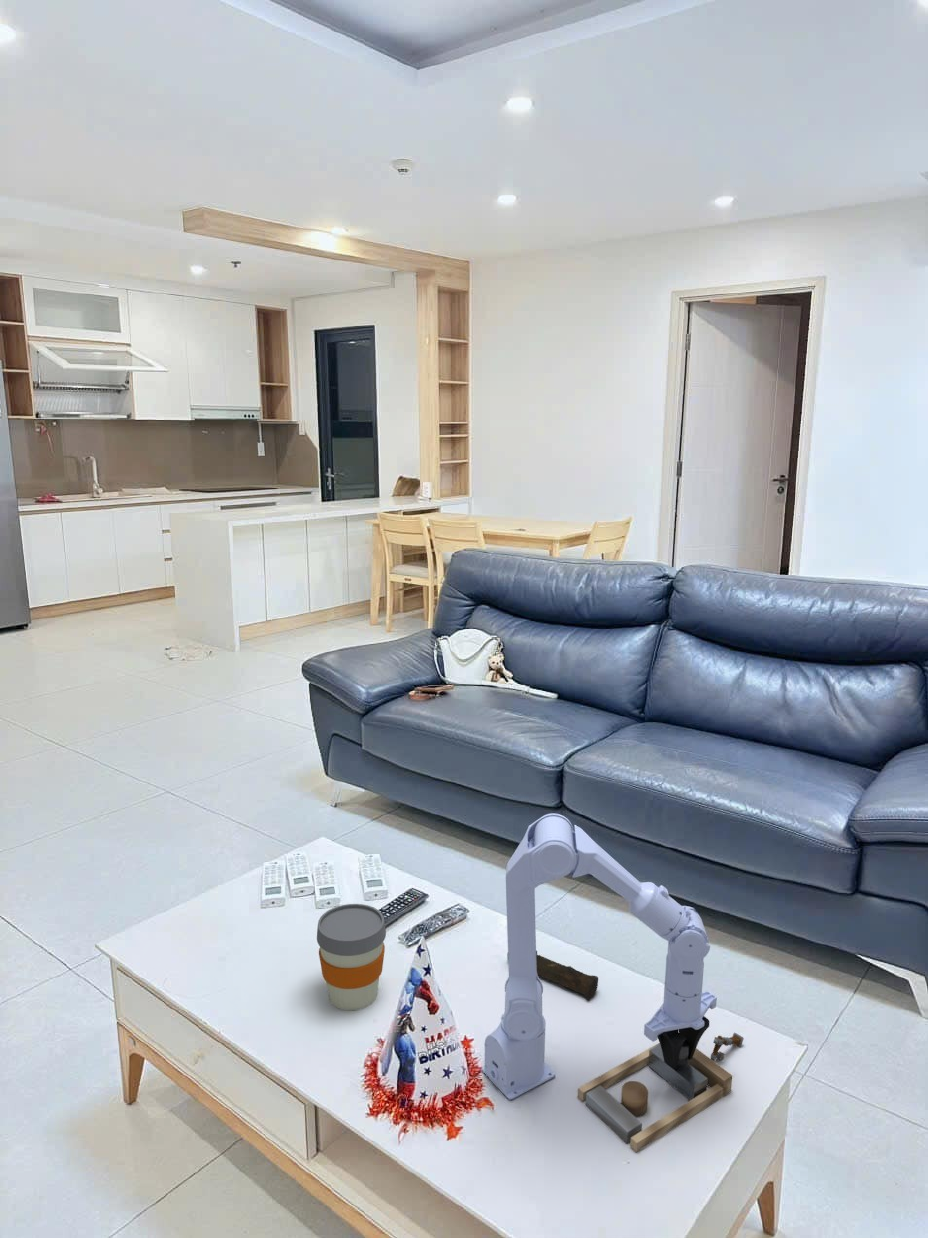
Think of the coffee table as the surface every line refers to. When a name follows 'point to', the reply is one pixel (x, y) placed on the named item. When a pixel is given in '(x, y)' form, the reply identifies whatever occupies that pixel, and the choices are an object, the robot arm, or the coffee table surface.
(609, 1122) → the vise frame
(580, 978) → the dark brown log
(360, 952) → the reusable coffee cup
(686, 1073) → the block
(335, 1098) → the coffee table surface
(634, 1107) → the brown wooden cylinder
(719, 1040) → the jointed folding linkage
